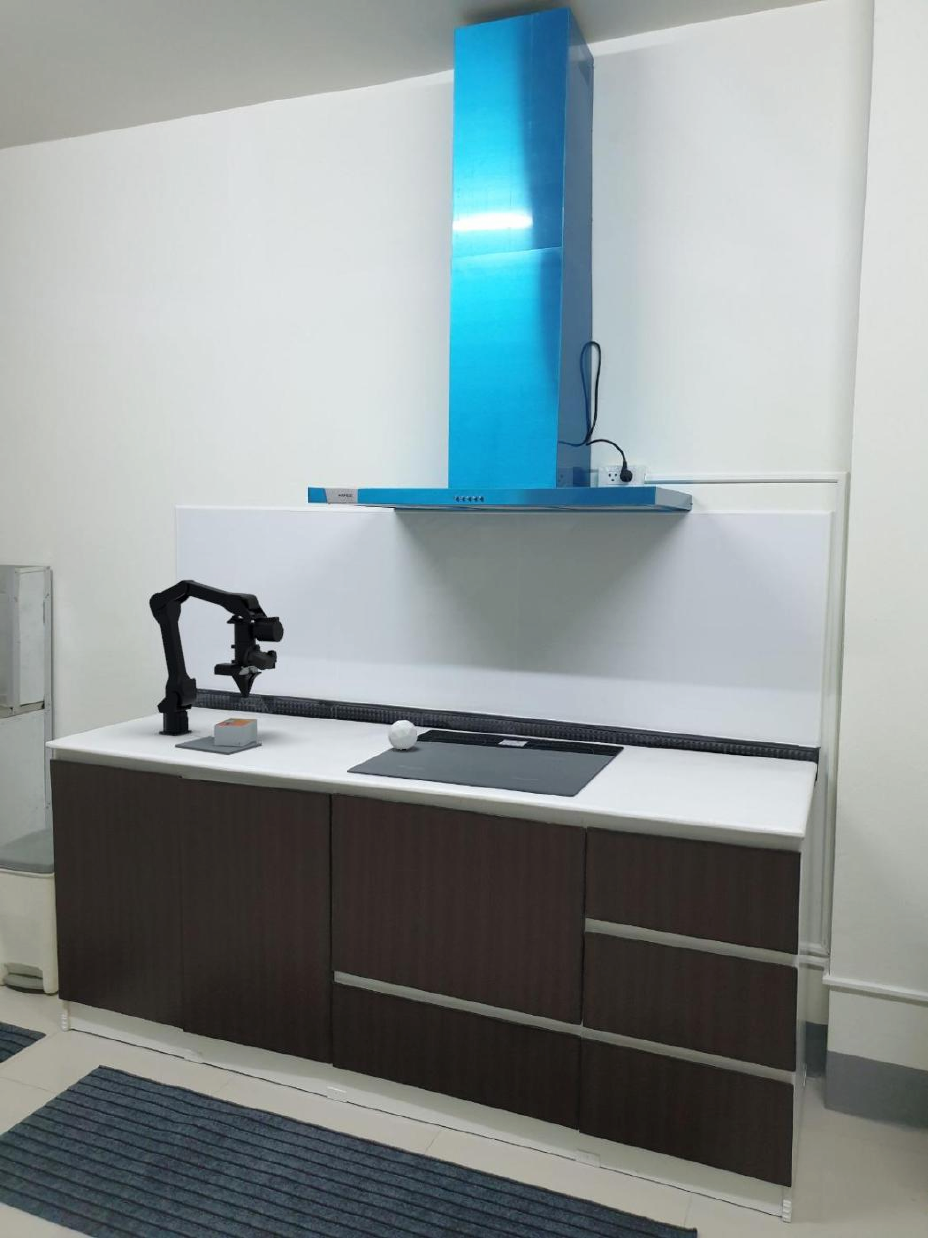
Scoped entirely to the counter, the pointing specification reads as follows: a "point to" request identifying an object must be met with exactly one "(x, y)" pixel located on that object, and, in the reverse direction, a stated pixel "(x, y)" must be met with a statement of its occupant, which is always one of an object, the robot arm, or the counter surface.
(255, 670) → the robot arm
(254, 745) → the mat
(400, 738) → the ball
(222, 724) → the small box
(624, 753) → the counter surface
